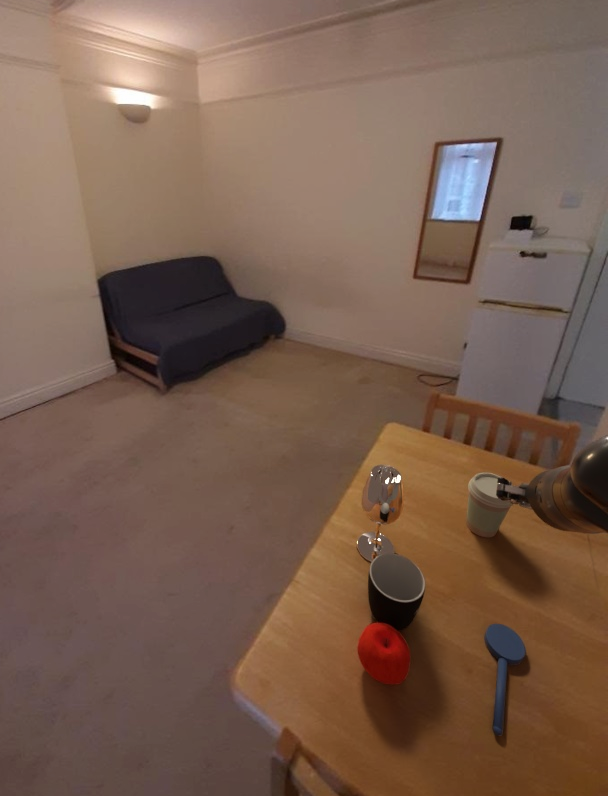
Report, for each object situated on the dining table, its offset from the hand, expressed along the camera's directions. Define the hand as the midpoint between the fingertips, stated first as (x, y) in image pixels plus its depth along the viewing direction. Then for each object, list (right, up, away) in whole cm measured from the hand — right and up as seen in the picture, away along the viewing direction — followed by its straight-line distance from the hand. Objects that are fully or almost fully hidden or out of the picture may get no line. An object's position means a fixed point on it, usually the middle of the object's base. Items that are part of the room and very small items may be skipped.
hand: (533, 501), depth 63 cm
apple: (-23, -27, +2) cm, 36 cm away
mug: (-19, -23, +10) cm, 31 cm away
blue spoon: (-5, -27, -1) cm, 28 cm away
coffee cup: (+6, -15, +25) cm, 30 cm away
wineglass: (-18, -18, +21) cm, 33 cm away
